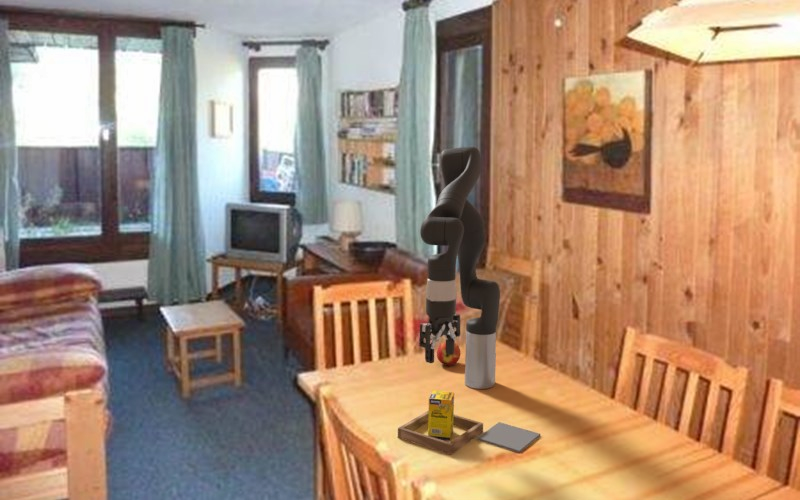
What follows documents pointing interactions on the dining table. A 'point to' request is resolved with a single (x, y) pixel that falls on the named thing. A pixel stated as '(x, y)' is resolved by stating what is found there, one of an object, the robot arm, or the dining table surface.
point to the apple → (448, 358)
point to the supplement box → (441, 415)
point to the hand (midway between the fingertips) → (439, 358)
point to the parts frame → (437, 444)
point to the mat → (508, 437)
